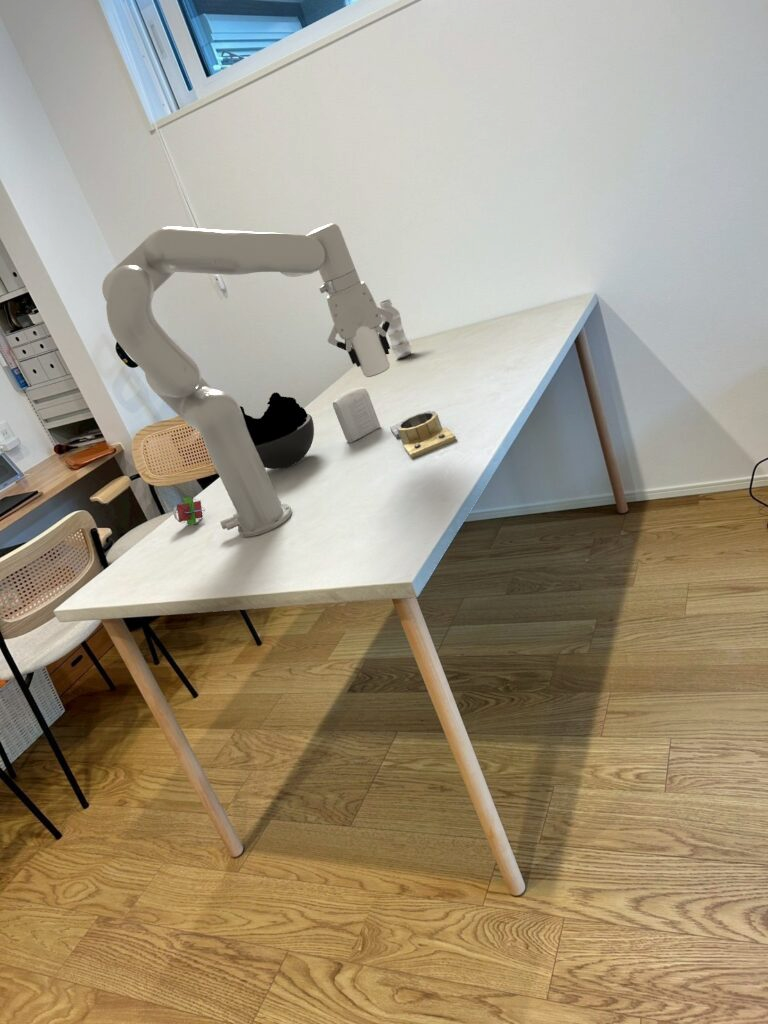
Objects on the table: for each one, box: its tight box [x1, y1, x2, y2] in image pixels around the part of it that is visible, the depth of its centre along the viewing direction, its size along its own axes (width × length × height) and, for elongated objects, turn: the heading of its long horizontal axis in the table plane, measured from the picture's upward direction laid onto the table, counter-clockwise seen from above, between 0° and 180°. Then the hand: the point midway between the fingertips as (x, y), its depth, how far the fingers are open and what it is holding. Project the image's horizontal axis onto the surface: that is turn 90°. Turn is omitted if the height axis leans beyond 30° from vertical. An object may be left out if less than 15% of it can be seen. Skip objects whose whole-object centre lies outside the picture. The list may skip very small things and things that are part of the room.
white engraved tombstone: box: [332, 386, 381, 443], centre depth 205 cm, size 10×4×12 cm, turn 123°
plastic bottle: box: [379, 299, 413, 359], centre depth 268 cm, size 6×7×20 cm
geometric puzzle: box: [172, 497, 206, 526], centre depth 191 cm, size 7×7×8 cm
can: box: [351, 323, 391, 378], centre depth 177 cm, size 6×6×12 cm
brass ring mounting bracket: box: [389, 410, 458, 460], centre depth 189 cm, size 11×26×4 cm, turn 11°
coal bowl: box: [239, 392, 315, 470], centre depth 203 cm, size 20×20×19 cm
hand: (372, 358), depth 178 cm, fingers closed on can, 6 cm apart
